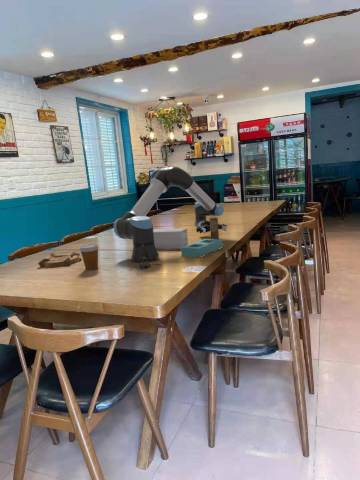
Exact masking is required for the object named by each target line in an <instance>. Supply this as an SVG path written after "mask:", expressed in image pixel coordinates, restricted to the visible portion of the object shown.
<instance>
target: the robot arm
mask: <svg viewBox="0 0 360 480" xmlns="http://www.w3.org/2000/svg"><path fill="white" fill-rule="evenodd" d="M149 182H150V184H149V186H148V187H147V188H146V189H145V191H144V193H143V194H142V195H141V197H140V198H139V199H138V200H137V202H136V203H135V205H134V206H133V207H132V209H131V210H130V211H127V212H125V214H124V215H123V216H122V217H119V218H117V219H116V220H115V221H114V223H113V232H114V234H115V236H116V237H118V238H119V239H123V240H132V253H131V256H130V257H131V259H130V260H131V262H133V263H141V262H142V257H143V247H142V245H144V252H145V256H146V259H147V261H148V262H149V263H150V262H154V261H156V260H158V259H160V255H159V252H158V248H156V247H155V244H154V233H153V229H154V224H153V219H152V218H151V217H149V216H147V214H148V213H149V212H150V210H151V209H152V207H153V206H154V204H155V203H156V202H157V200H158V199H159V198H160V196H161V195H162V194H163V193H166V192H167V191H168V190H169V188H170V187H178V188H180V189H181V190H182V191H185V192H186V193H188V194H189V195H190V196H191V197H192V199H194V200H195V203H194V216H195V217H194V219H195V220H194V226H195V228H196V229H195V230H196V233H199V234H202V233H203V234H207V233H209V232H210V220H207V216H208V217H221V216H222V215H223V214H224V206H223V205H222V204H217V203H216V202H215V201H214V200H213V199H212V198H211V197H210V196H209V195H208V194H207V193H206V192H205V191H204V190H203V189H202V188H201V187H200V186H199V185H198V184H197V183H196V182H195V180H194V178H193V177H192V175H190V174H189V173H188V172H187V171H186V170H185V169H182V168H180V167H178V166H170V167H169V166H168V167H159V168H156V169H154V170H153V171H152V172H151V174H150V181H149ZM227 226H228V225H227V224H224V223H223V224H220V223H218V230H221V231H225V232H227V231H228V227H227Z"/></svg>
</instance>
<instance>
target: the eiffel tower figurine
mask: <svg viewBox="0 0 360 480" xmlns="http://www.w3.org/2000/svg"><path fill="white" fill-rule="evenodd" d="M142 247H143V257H142V262H140V264H139V265H136V266H134V267H133V268H130V269H129V271H132V270H133V269H134V268H138V269H141V270H143V271H144V270H147V269H151V268H153V265H154V266H162V263H154V264H151V263H150V261H149V262H148V261H147V259H146V256H145V252H144V245H142Z"/></svg>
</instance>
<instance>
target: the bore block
mask: <svg viewBox="0 0 360 480" xmlns="http://www.w3.org/2000/svg"><path fill="white" fill-rule="evenodd" d="M221 247H223V239H219V240H218V239H211V238H203V239H201V240H198V241H195V242H192V243H188V245H186V246H183V247H181V248H180V252H181V254H180V255H181V257H185V256H188V257H187V258H196V257H200V258H202V257H201V256H203V255H205V256H207V255H209V254H208V253H210V252H212V251H215V250H217V249H219V248H221ZM219 250H220V249H219ZM217 251H218V250H217ZM215 252H216V251H215ZM212 253H213V252H212ZM206 254H207V255H206ZM210 254H211V253H210ZM203 257H204V256H203Z"/></svg>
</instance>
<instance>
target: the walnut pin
mask: <svg viewBox="0 0 360 480" xmlns="http://www.w3.org/2000/svg"><path fill="white" fill-rule="evenodd" d="M218 220H219V218H218V217H210V218H209V222H210V231H209V232H210V239H218V240H220V235H219V234H220V233H219V229H218V224H219V221H218Z"/></svg>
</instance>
